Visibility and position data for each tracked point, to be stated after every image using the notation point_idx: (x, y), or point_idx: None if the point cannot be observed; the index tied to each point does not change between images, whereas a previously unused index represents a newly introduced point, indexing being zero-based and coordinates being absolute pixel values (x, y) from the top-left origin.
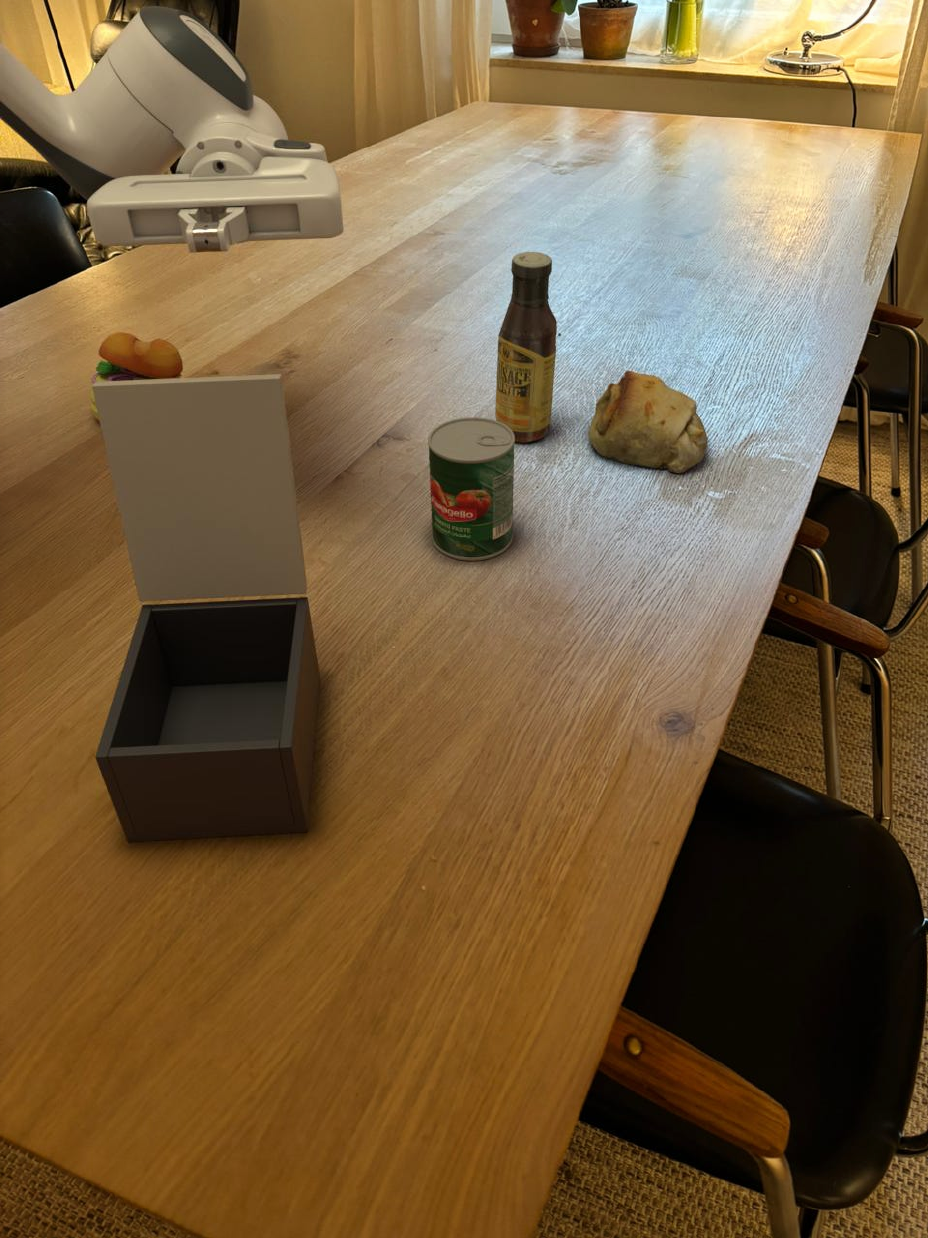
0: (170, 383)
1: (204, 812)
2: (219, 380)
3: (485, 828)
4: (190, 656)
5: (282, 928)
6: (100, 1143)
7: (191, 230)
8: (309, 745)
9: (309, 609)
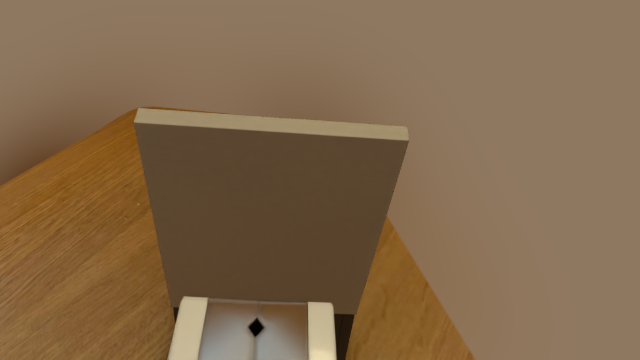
0: (297, 120)
1: None
2: (227, 115)
3: (82, 231)
4: None
5: None
6: None
7: (311, 302)
8: None
9: (174, 316)
